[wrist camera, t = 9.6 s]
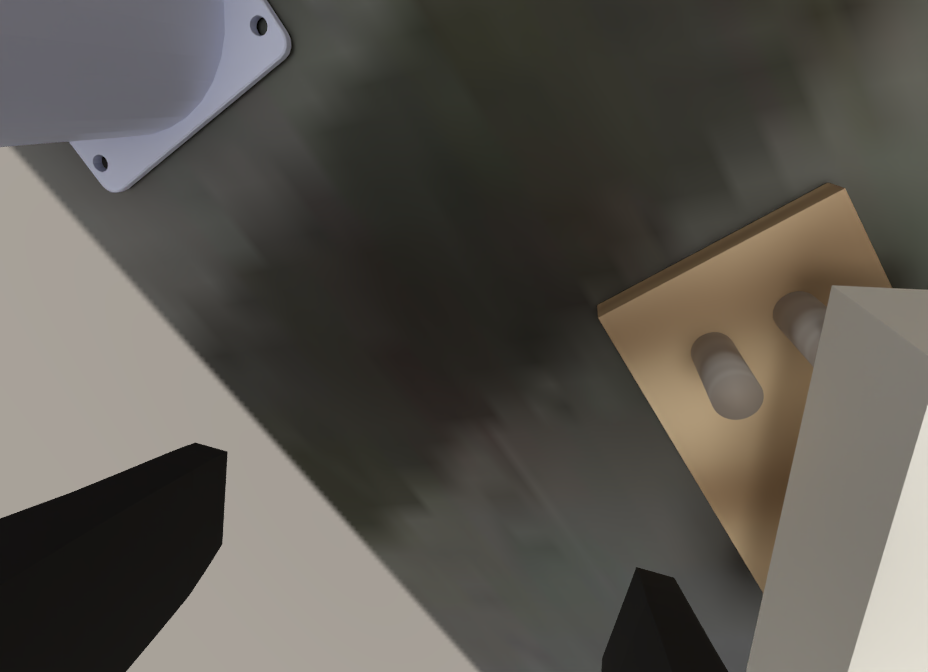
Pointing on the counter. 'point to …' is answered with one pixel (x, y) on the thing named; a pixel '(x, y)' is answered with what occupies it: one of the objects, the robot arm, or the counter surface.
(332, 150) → the counter surface
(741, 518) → the peg stand
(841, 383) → the white rectangular block
